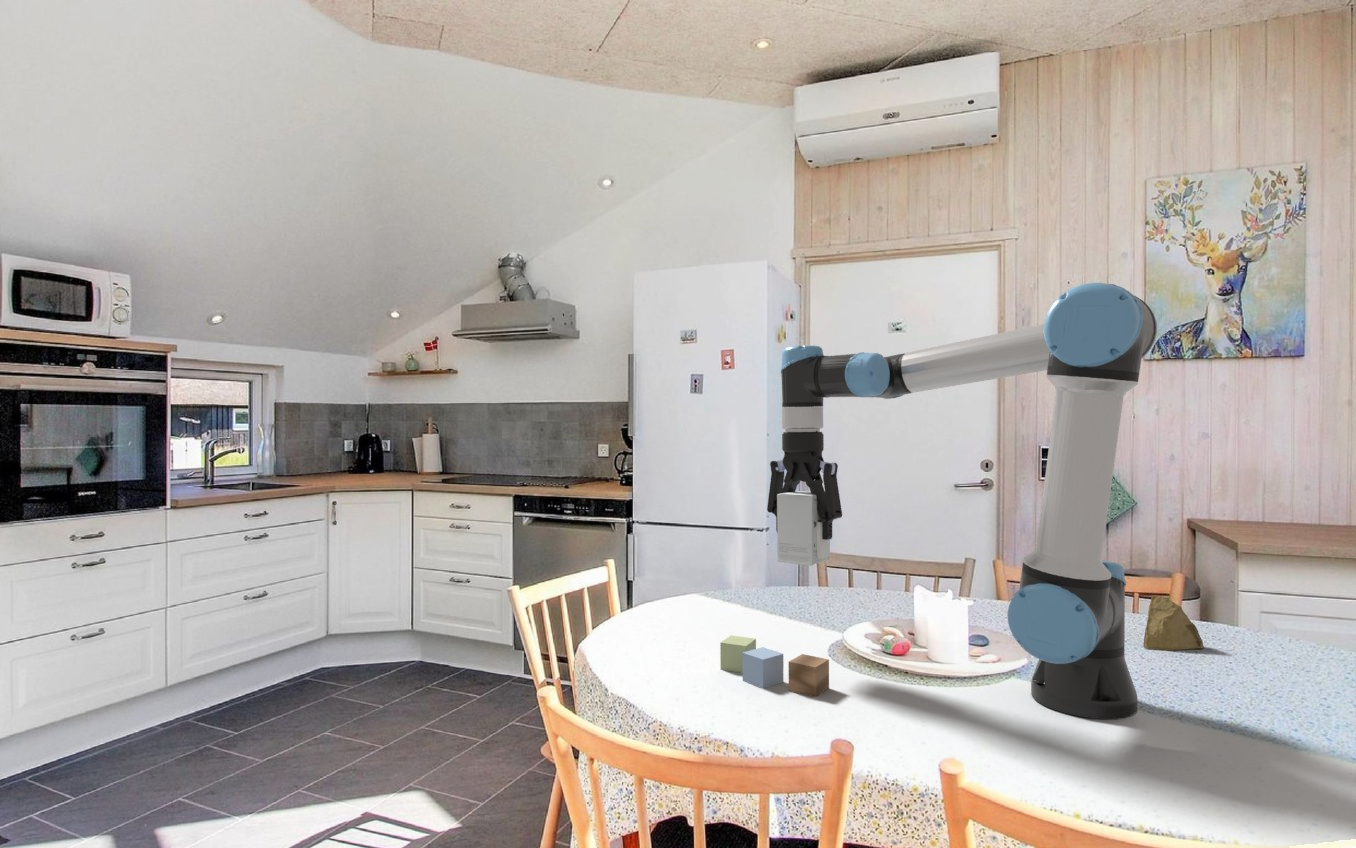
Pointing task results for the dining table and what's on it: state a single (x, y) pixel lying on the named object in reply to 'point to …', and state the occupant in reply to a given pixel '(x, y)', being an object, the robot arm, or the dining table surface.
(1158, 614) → the rock
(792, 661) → the walnut cube
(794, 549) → the supplement box
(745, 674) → the slate blue cube
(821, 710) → the dining table surface
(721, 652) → the olive cube
